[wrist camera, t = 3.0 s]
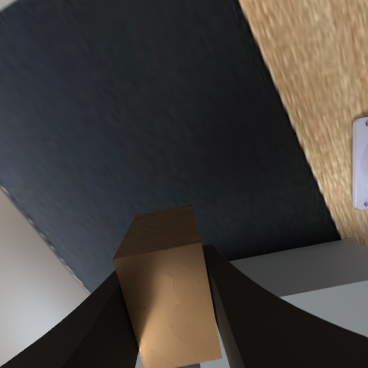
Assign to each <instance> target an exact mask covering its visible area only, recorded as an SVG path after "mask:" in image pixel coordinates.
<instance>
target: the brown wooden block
mask: <svg viewBox="0 0 368 368" xmlns="http://www.w3.org/2000/svg"><path fill="white" fill-rule="evenodd" d="M113 262H114V266H115V269H116V272H117V276H118V279H119V283H120V286H121V289H122V293H123V296H124V300H125V303H126V306H127V310H128V313H129V317H130V320H131V323H132V327H133V330H134V334H135V337H136V340H137V344H138V347H139V351H140V354H141V357H142V361H143V364H144V368H175V367H181V366H186V365H191V364H196V363H201V362H207V361H212V360H217V359H222V353H221V348H220V342H219V337H218V331H217V326H216V320H215V315H214V309H213V303H212V298H211V292H210V287H209V281H208V276H207V270H206V265H205V259H204V254H203V248H202V243H201V239H200V235H199V231H198V227H197V223H196V219H195V216H194V212H193V208H192V205H188V206H183V207H178V208H172V209H167V210H162V211H157V212H151V213H146V214H141V215H136V216H135V218H134V220H133V222H132V224H131V226H130V228H129V230H128V232H127V233H126V235H125V237H124V239H123V241H122V243H121V245H120V247H119V248H118V250H117V252H116V254H115V256H114V258H113Z"/></svg>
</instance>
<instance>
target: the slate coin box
mask: <svg viewBox="0 0 368 368" xmlns="http://www.w3.org/2000/svg"><path fill="white" fill-rule="evenodd" d="M230 262H231V263H232V264H233V265H234V266H235V267H236V268H238V269H239V270H240V271H241V272H242V273H244V274H245V275H246V276H248V277H249V278H250V279H252V280H253V281H254V282H256V283H257V284H259V285H260V286H261V287H263V288H265V289H266V290H268V291H269V292H271V293H273V294H274V295H276V296H278V297H279V298H281V299H283V300H285V301H287V302H289V303H291V304H293V305H294V306H296V307H298V308H300V309H302V310H304V311H306V312H309V313H311V314H313V315H315V316H317V317H319V318H322V319H324V320H326V321H329V322H331V323H333V324H335V325H338V326H340V327H342V328H345V329H348V330H350V331H353V332H356V333H358V334H361V335H364V336H366V337H368V248H367V247H365V246H363V245H362V244H360V243H358V242H356V241H354V240H352V239H351V238H348V239H343V240H338V241H333V242H328V243H322V244H317V245H312V246H307V247H301V248H296V249H291V250H286V251H281V252H275V253H270V254H265V255H260V256H254V257H249V258H244V259H239V260H234V261H230ZM216 326H217V324H216ZM217 331H218V337H219V342H220V348H221V353H222V359H217V360H212V361H207V362H201V363H200V366H201V368H230V366H229V362H228V359H227V356H226V352H225V349H224V346H223V343H222V340H221V336H220V333H219V330H218V327H217Z"/></svg>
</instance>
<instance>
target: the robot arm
mask: <svg viewBox="0 0 368 368" xmlns="http://www.w3.org/2000/svg"><path fill="white" fill-rule="evenodd" d="M366 121H367V125H365V122H366ZM364 203H365V204H364ZM352 205H353V207H354V208H355V209H358V210H363V209H368V117H363V118H358V119H356V120H355V121H354V122H353V180H352ZM202 248H203V254H204V259H205V265H206V270H207V276H208V281H209V287H210V292H211V298H212V303H213V309H214V315H215V320H216V324H217V327H218V330H219V333H220V336H221V340H222V343H223V346H224V349H225V352H226V356H227V359H228V362H229V366H230V368H368V337H366V336H364V335H361V334H358V333H356V332H353V331H350V330H348V329H345V328H342V327H340V326H338V325H335V324H333V323H331V322H329V321H326V320H324V319H322V318H319V317H317V316H315V315H313V314H311V313H309V312H306V311H304V310H302V309H300V308H298V307H296V306H294V305H293V304H291V303H289V302H287V301H285V300H283V299H281V298H279V297H278V296H276V295H274V294H273V293H271V292H269V291H268V290H266V289H265V288H263V287H261V286H260V285H259V284H257V283H256V282H254V281H253V280H252V279H250V278H249V277H248V276H246V275H245V274H244V273H242V272H241V271H240V270H239V269H238V268H236V267H235V266H234V265H233V264H232V263H231V262H230V261H228V260H227V259H226V258H225V257H224V256H223V255H222V254H221V253H220V252H219V251H218V250H217V248H216V247H215V246H214V245H212V244H211V245H205V246H202ZM138 351H139V347H138V344H137V340H136V337H135V334H134V330H133V327H132V323H131V320H130V317H129V313H128V310H127V306H126V303H125V300H124V296H123V293H122V289H121V286H120V283H119V279H118V276H117V272H116V270H115V271H114V272H113V273H112V274H111V275H110V276H109V277H108V278H107V279H106V280H105V281H104V282H103V283H102V284H101V285H100V286H99V287H98V288H97V289H96V290H95V291H94V292H93V293H92V294H91V295H90V296H88V297H87V298H86V299H85V300H84V301H83V302H82V303H81V304H80V305H79V306H78V307H77V308H76V309H75V310H73V311H72V312H71V313H70V314H69V315H68V316H67V317H65V318H64V319H63V320H62V321H61V322H59V323H58V324H57V325H56V326H55V327H53V328H52V329H51V330H50V331H48V332H47V333H46V334H45V335H43V336H42V337H41V338H39V339H38V340H37V341H35V342H34V343H33V344H31V345H30V346H28V347H27V348H26V349H24V350H23V351H22V352H20V353H19V354H18V355H16V356H15V357H13V358H12V359H11V360H9V361H8V362H7V363H5V364H4V365H2V366H1V367H0V368H135V365H136V360H137V356H138Z"/></svg>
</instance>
